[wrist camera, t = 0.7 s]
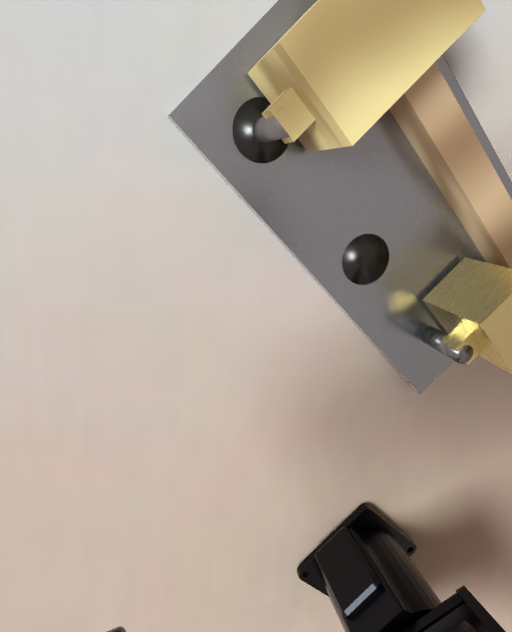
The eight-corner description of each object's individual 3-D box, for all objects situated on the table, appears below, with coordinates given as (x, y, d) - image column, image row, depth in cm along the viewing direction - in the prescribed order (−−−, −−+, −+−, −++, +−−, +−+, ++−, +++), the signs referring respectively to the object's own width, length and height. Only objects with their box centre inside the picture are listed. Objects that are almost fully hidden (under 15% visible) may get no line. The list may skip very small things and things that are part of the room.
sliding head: (537, 265, 24) (613, 282, 20) (439, 362, 24) (495, 396, 20) (508, 214, 22) (584, 221, 18) (403, 318, 22) (457, 347, 18)
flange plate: (545, 259, 25) (554, 261, 24) (413, 389, 25) (420, 394, 25) (357, -81, 17) (365, -91, 16) (167, 117, 17) (169, 115, 16)
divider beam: (539, 276, 24) (619, 295, 20) (443, 370, 24) (504, 407, 20) (342, -68, 16) (411, -149, 12) (204, 78, 16) (225, 46, 12)
